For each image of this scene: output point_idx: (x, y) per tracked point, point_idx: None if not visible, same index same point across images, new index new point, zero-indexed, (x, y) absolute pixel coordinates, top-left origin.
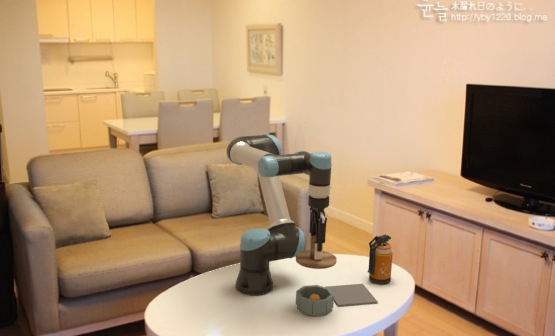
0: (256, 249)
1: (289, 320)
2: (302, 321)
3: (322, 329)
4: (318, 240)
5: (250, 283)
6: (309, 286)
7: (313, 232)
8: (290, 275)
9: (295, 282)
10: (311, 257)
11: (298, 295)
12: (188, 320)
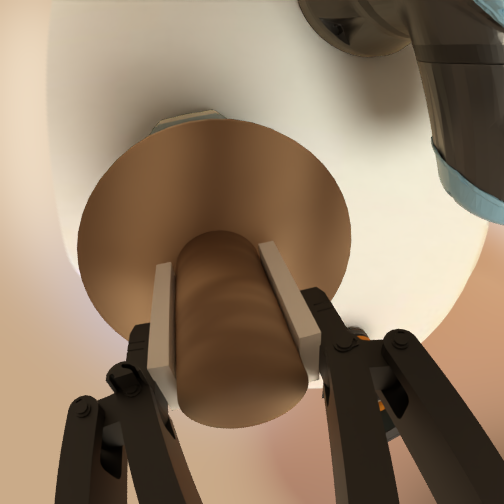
0: None
1: (109, 87)
2: (103, 129)
3: (64, 191)
4: (73, 423)
5: None
6: None
7: (330, 389)
8: (419, 129)
9: (378, 134)
10: (194, 243)
11: (177, 120)
12: None
